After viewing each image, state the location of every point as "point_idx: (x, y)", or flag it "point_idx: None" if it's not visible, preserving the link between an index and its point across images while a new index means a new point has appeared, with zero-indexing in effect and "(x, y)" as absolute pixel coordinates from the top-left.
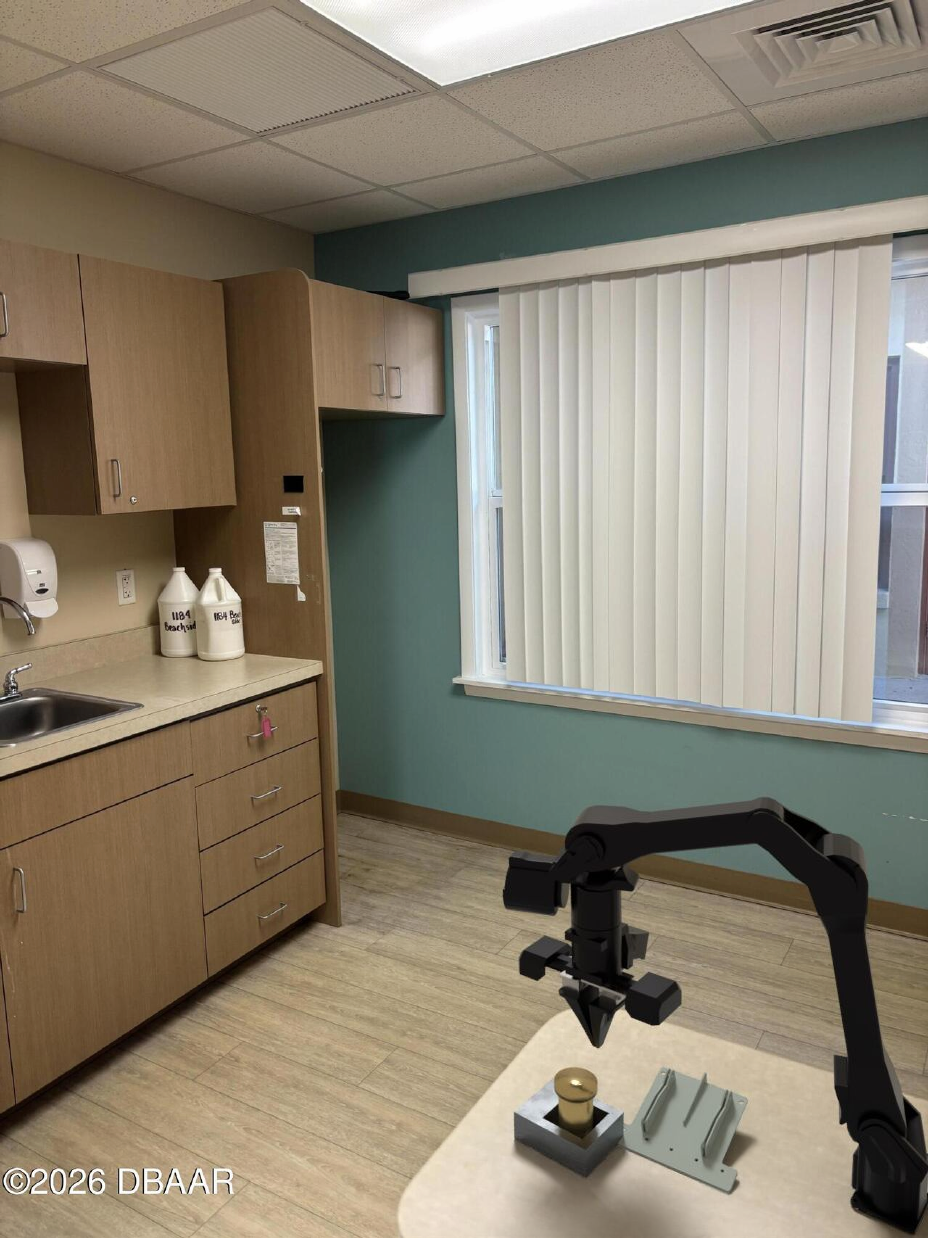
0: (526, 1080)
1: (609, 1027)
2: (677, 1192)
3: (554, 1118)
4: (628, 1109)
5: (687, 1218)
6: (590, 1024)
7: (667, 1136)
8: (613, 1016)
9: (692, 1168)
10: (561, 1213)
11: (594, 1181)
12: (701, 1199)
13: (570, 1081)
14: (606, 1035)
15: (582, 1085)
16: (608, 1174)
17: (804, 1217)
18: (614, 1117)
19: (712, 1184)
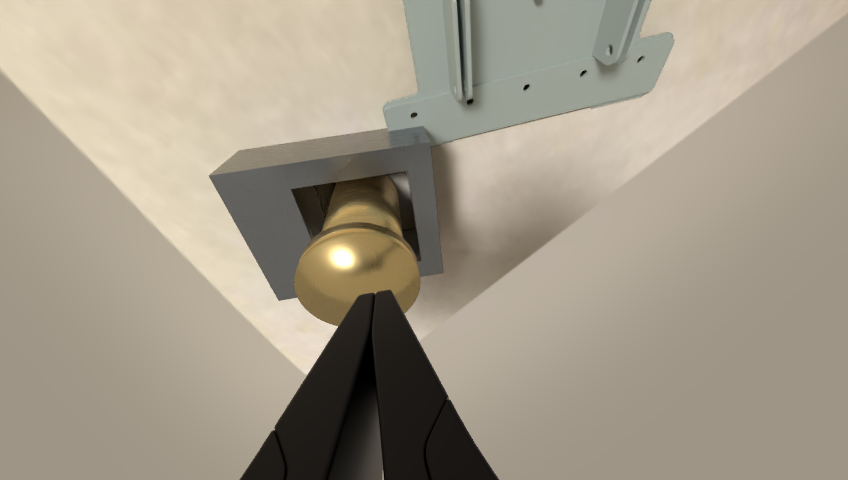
0: (117, 136)
1: (423, 350)
2: (564, 157)
3: (317, 228)
4: (358, 18)
5: (594, 188)
6: (378, 466)
7: (506, 61)
8: (465, 430)
9: (577, 95)
10: (449, 295)
11: (447, 234)
12: (605, 140)
13: (352, 297)
14: (405, 317)
15: (386, 288)
16: (454, 209)
17: (791, 31)
18: (425, 172)
19: (619, 98)
